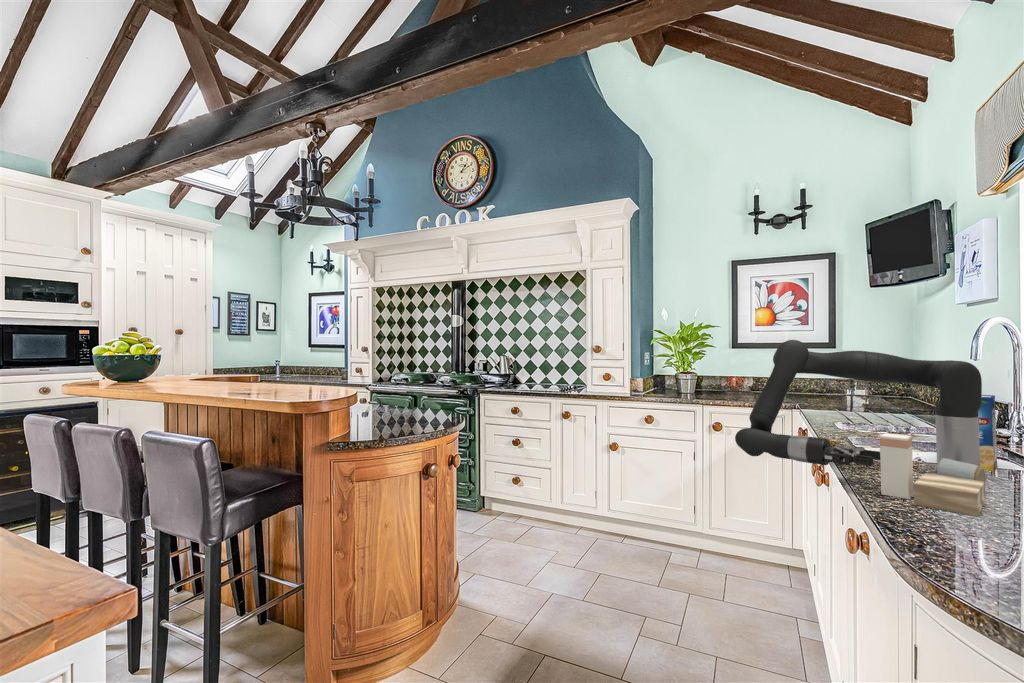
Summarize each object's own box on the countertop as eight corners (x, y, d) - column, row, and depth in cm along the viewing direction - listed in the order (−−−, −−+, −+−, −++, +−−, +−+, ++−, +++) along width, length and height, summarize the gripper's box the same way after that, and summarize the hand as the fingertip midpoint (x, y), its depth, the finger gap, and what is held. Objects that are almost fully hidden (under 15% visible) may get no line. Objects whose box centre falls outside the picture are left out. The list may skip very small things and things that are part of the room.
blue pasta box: (994, 471, 141) (991, 397, 142) (945, 464, 150) (942, 394, 150) (997, 467, 146) (995, 395, 146) (949, 460, 154) (947, 393, 154)
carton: (886, 489, 126) (884, 433, 126) (913, 494, 122) (912, 435, 122) (881, 494, 122) (879, 436, 123) (908, 499, 118) (907, 438, 118)
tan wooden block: (925, 492, 123) (925, 472, 123) (985, 502, 115) (984, 481, 115) (914, 504, 114) (913, 483, 114) (977, 516, 106) (977, 493, 106)
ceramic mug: (978, 496, 119) (977, 466, 119) (936, 488, 126) (935, 459, 126) (991, 490, 124) (990, 460, 125) (950, 482, 131) (949, 455, 132)
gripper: (799, 440, 133) (869, 448, 121) (817, 433, 142) (884, 440, 130) (800, 467, 133) (870, 478, 121) (818, 458, 142) (885, 468, 130)
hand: (877, 458), depth 125 cm, fingers open, 8 cm apart
